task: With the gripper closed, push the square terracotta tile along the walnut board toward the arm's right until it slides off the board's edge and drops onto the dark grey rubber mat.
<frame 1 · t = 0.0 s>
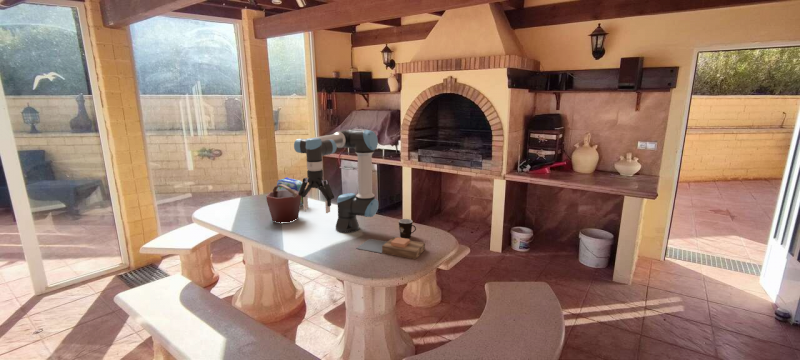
hand: (316, 210, 194), 28 cm above the table, fingers open, 13 cm apart
bucket: (284, 220, 267), on the table
lunch box: (291, 204, 304), on the table
mat: (375, 245, 222), on the table
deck: (403, 251, 214), on the table
coffee mug: (406, 237, 235), on the table
tile: (400, 243, 214), point 4 cm above the table, touching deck
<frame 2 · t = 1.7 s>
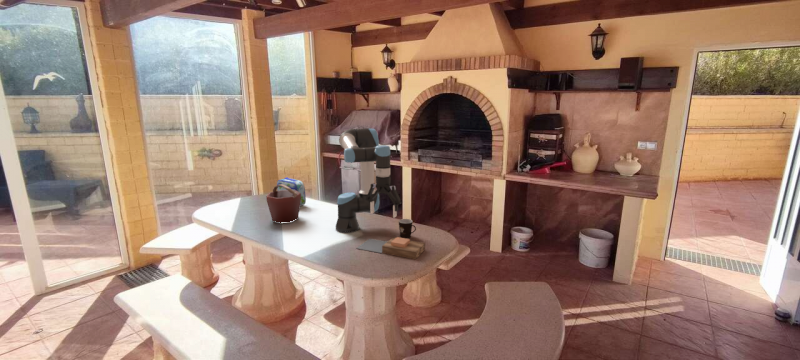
hand: (383, 215, 202), 24 cm above the table, fingers open, 13 cm apart
nothing on the table moved.
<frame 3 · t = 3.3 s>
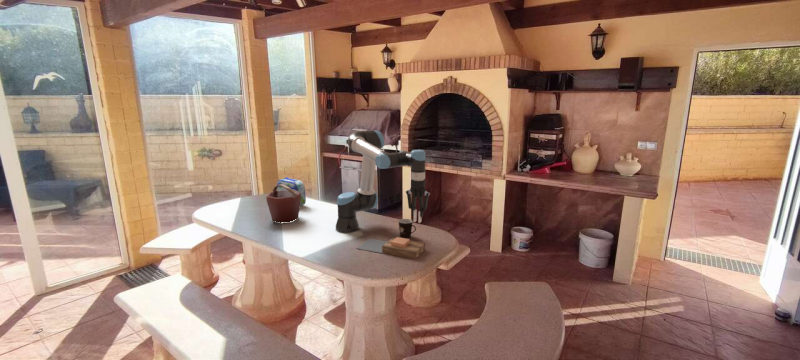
hand: (417, 221, 207), 18 cm above the table, fingers open, 2 cm apart
nothing on the table moved.
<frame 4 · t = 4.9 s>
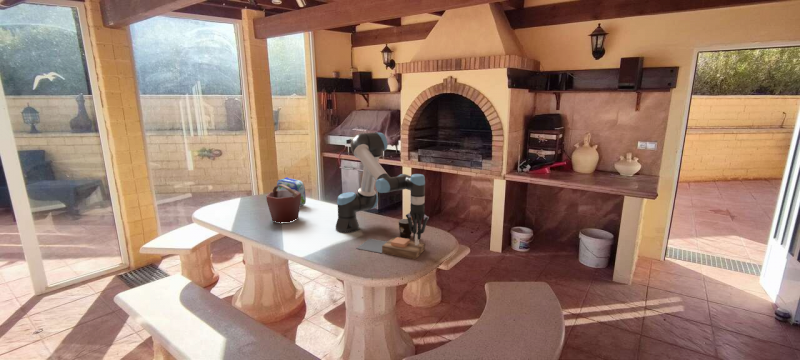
hand: (416, 244, 210), 5 cm above the table, fingers closed
nothing on the table moved.
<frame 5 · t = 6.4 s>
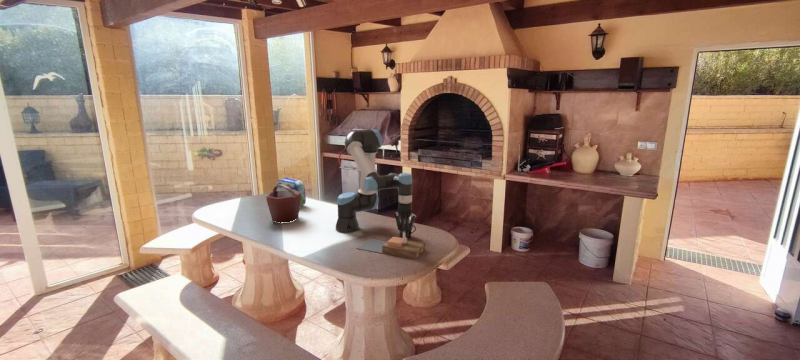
hand: (404, 242, 213), 5 cm above the table, fingers closed
tile: (396, 243, 215), point 4 cm above the table, touching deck, gripper
everything else where it was.
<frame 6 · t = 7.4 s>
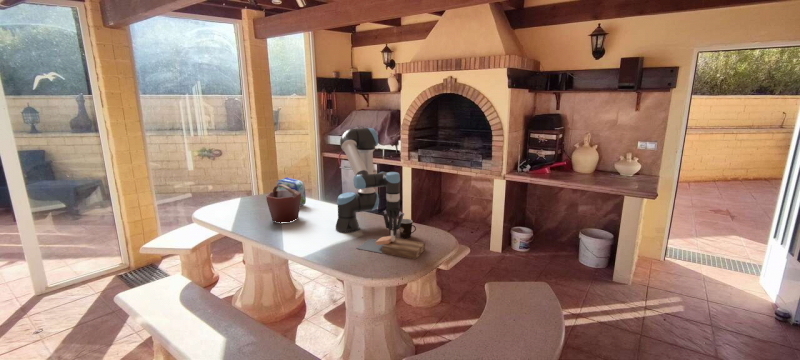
hand: (392, 240, 216), 5 cm above the table, fingers closed
tile: (385, 241, 218), point 4 cm above the table, tilted 16°, touching gripper
everything else where it was.
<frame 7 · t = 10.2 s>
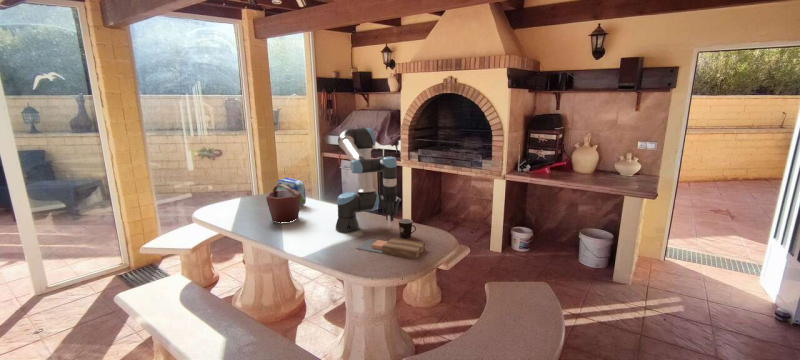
hand: (389, 226, 215), 14 cm above the table, fingers closed
tile: (380, 246, 220), resting on mat
everything else where it was.
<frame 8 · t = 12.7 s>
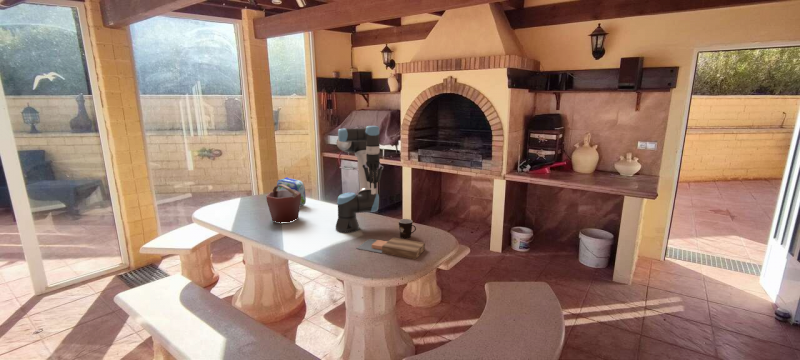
hand: (373, 193, 222), 29 cm above the table, fingers closed
nothing on the table moved.
at the end: tile inside the target area (3.8 cm from its centre), resting on mat; tile resting on mat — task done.
